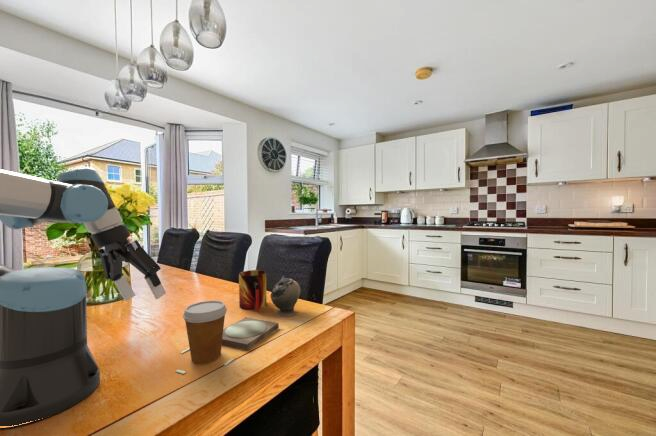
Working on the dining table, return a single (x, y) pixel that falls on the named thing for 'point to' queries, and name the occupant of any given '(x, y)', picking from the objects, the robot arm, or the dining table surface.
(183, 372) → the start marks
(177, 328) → the dining table surface
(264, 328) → the board
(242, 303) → the mug
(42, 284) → the robot arm
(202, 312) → the disposable coffee cup
